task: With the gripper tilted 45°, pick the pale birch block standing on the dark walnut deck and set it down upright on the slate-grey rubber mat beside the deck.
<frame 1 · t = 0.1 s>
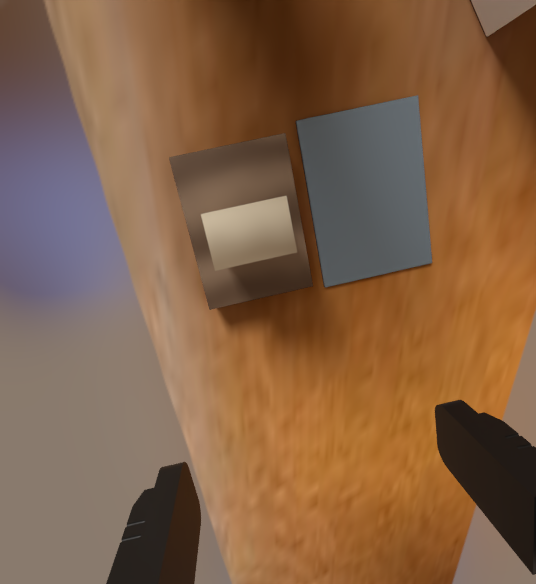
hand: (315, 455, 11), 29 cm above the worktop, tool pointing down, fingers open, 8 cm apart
birch block: (245, 225, 34), point 4 cm above the worktop, touching walnut deck
rubber mat: (367, 196, 38), on the worktop
walnut deck: (244, 223, 37), on the worktop
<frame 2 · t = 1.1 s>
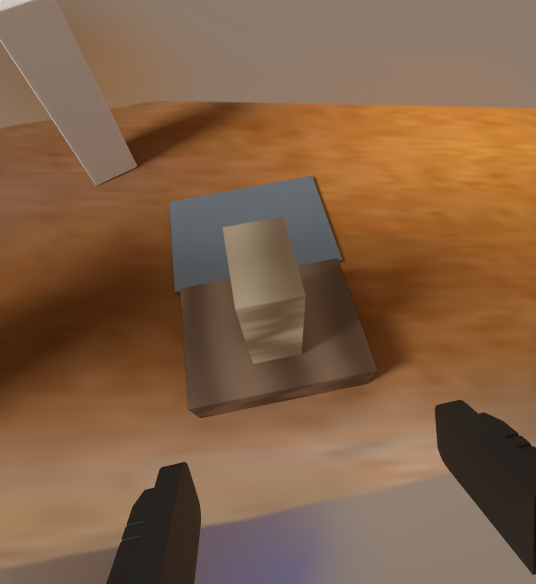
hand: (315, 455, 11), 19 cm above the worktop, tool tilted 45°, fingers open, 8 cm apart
birch block: (270, 326, 29), point 4 cm above the worktop, touching walnut deck
rubber mat: (249, 230, 40), on the worktop
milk: (110, 165, 47), on the worktop
walnut deck: (272, 342, 33), on the worktop
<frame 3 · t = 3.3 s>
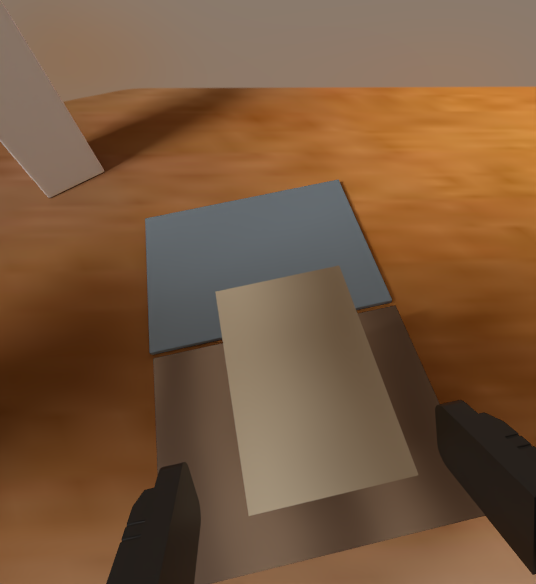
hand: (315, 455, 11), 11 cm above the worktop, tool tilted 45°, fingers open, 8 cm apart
birch block: (298, 426, 18), point 4 cm above the worktop, touching walnut deck
rubber mat: (256, 258, 28), on the worktop
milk: (69, 170, 36), on the worktop
walnut deck: (298, 435, 21), on the worktop
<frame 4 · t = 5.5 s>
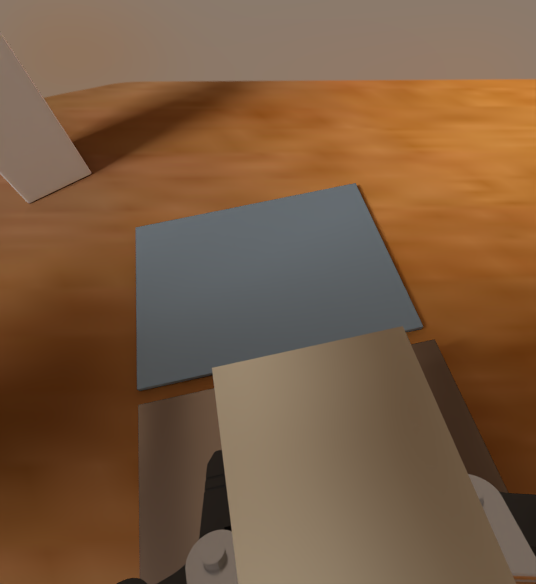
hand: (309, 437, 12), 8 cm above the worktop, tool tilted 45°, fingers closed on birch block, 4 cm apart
birch block: (319, 499, 14), point 4 cm above the worktop, touching gripper, walnut deck
rubber mat: (262, 274, 25), on the worktop
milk: (53, 172, 32), on the worktop
walnut deck: (314, 496, 18), on the worktop
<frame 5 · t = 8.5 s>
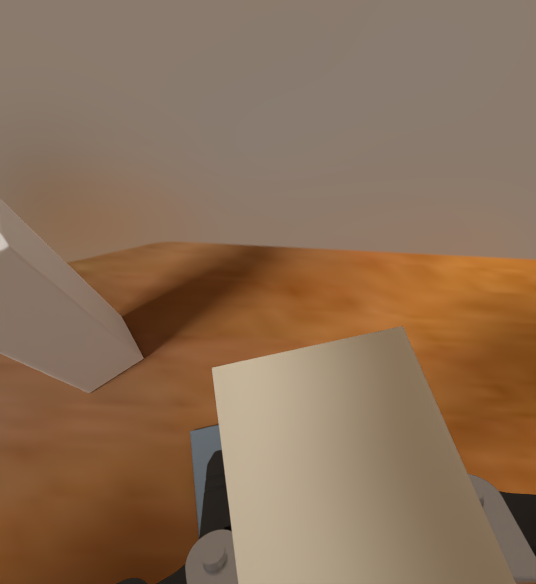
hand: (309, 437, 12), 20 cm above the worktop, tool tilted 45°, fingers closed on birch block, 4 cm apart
birch block: (319, 499, 14), point 16 cm above the worktop, touching gripper
rubber mat: (307, 490, 28), on the worktop
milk: (107, 353, 35), on the worktop
when the fingers open (6 cm above the worktop, at t = 11.9 s): birch block drops 2 cm, resting on rubber mat.
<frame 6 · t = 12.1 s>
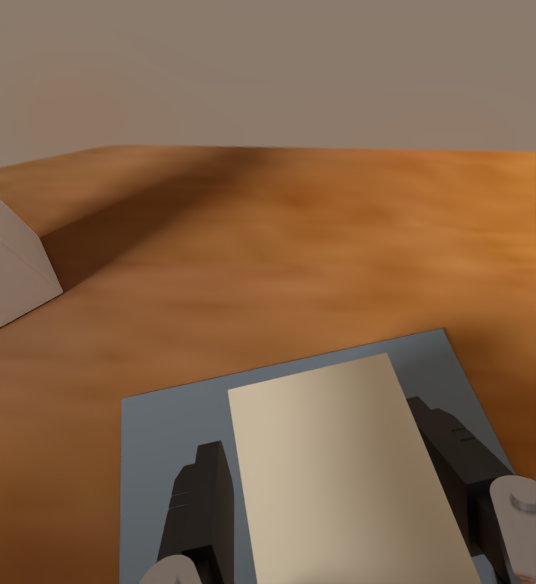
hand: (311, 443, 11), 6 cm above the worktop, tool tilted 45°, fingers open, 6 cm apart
birch block: (319, 498, 16), resting on rubber mat
rubber mat: (316, 498, 16), on the worktop
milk: (11, 287, 23), on the worktop
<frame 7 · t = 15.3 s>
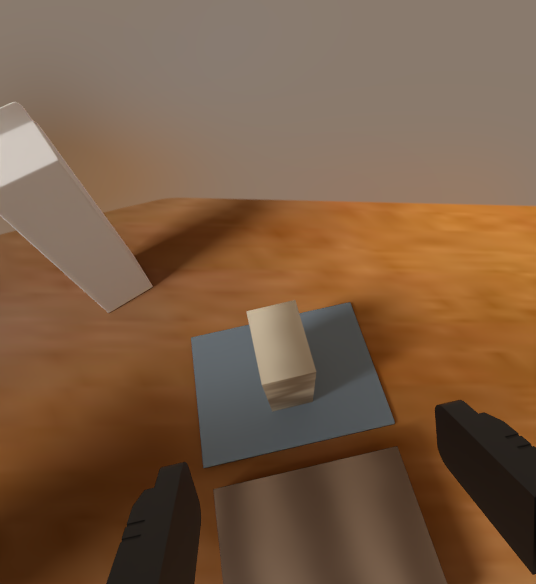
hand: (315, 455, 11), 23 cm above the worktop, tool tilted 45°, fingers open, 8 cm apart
birch block: (285, 376, 35), resting on rubber mat
rubber mat: (284, 377, 35), on the worktop
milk: (122, 284, 43), on the worktop
walnut deck: (322, 544, 28), on the worktop
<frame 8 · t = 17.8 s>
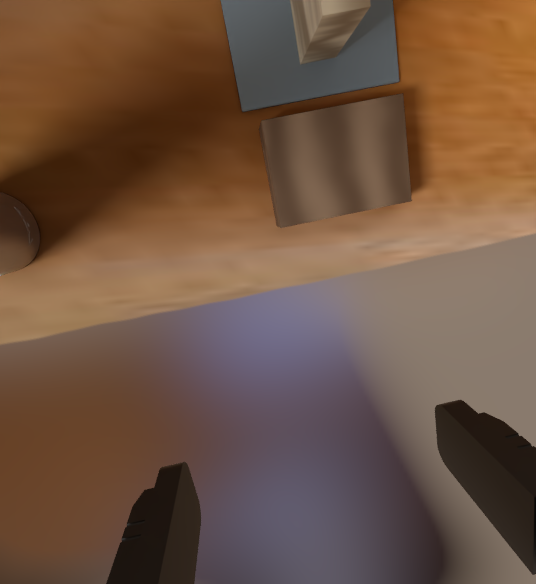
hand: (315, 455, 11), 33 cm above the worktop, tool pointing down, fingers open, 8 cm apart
birch block: (313, 29, 36), resting on rubber mat
rubber mat: (311, 31, 37), on the worktop
walnut deck: (330, 166, 40), on the worktop
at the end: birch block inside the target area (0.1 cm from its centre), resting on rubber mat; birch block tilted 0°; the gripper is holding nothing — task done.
